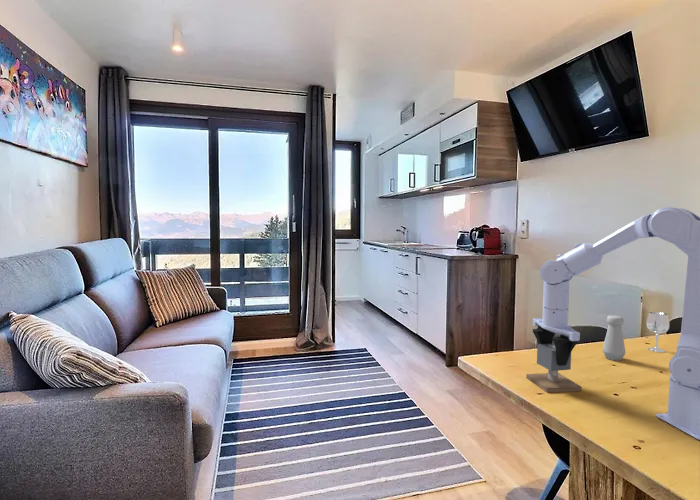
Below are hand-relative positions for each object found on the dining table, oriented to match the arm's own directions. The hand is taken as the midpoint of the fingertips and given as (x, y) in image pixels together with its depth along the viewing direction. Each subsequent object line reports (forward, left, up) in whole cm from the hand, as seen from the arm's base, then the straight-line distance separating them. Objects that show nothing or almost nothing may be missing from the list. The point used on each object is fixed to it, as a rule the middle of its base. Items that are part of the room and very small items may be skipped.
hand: (553, 360), depth 98 cm
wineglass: (+22, -50, -6) cm, 55 cm away
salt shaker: (+16, -30, -6) cm, 35 cm away
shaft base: (0, 0, -6) cm, 6 cm away
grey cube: (0, 0, -1) cm, 1 cm away
